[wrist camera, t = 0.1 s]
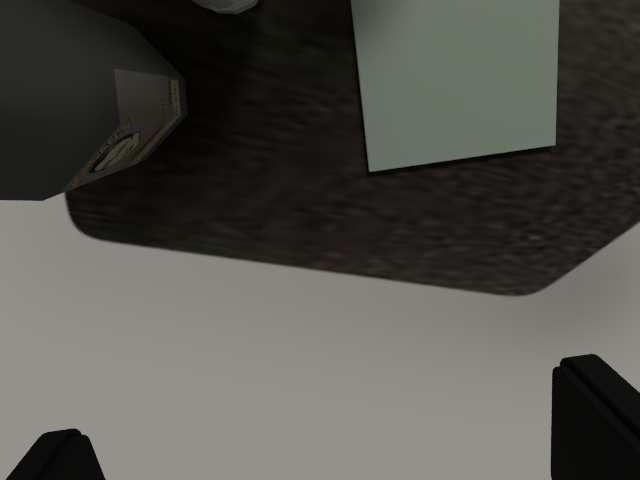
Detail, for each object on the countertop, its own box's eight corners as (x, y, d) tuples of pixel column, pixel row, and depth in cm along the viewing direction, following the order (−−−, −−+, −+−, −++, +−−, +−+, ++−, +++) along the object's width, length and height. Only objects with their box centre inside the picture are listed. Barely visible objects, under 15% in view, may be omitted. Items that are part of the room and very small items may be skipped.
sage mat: (346, -38, 33) (347, -40, 33) (557, -71, 33) (561, -73, 33) (368, 170, 38) (369, 171, 38) (552, 144, 38) (555, 144, 38)
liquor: (46, 93, 36) (-987, 83, 7) (117, 7, 34) (-887, -459, 5) (135, 174, 38) (-388, 409, 9) (206, 97, 36) (-175, 101, 8)
